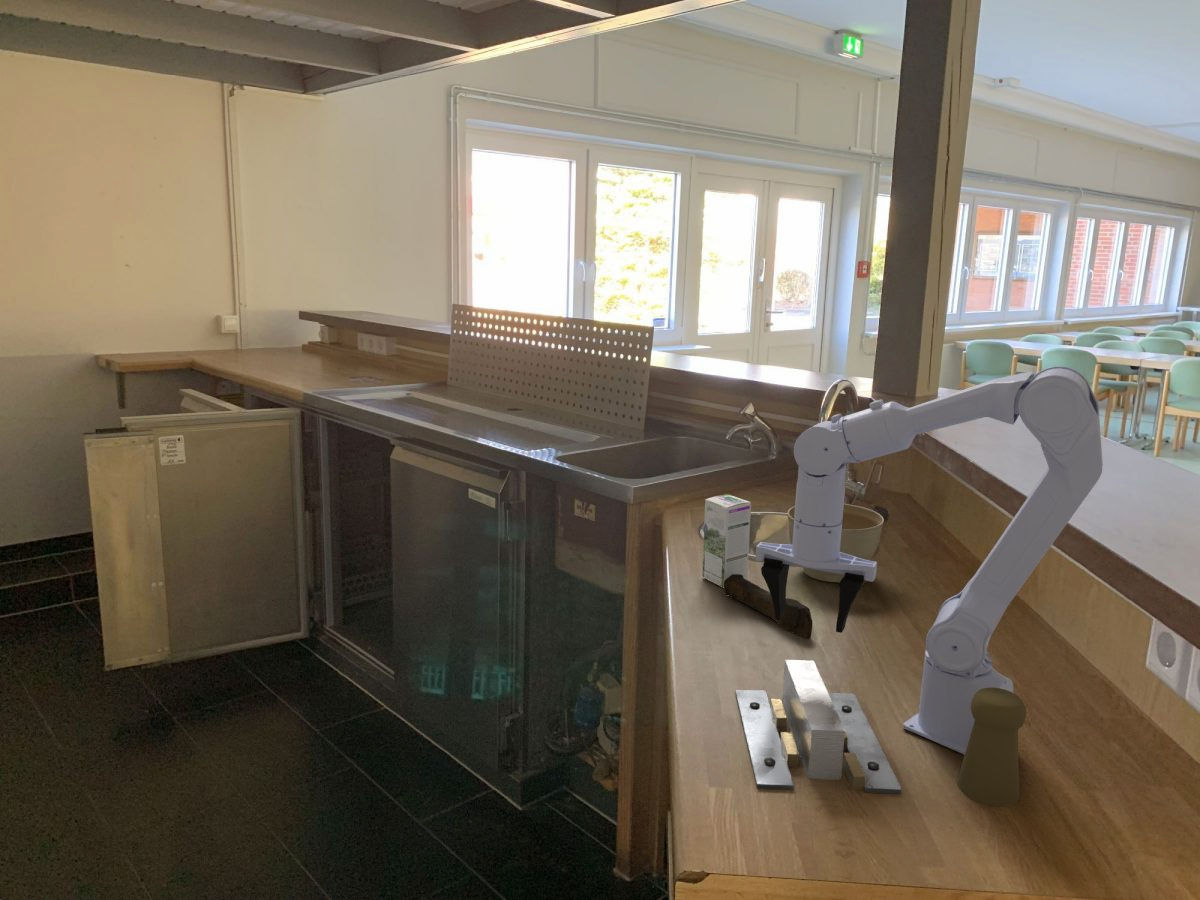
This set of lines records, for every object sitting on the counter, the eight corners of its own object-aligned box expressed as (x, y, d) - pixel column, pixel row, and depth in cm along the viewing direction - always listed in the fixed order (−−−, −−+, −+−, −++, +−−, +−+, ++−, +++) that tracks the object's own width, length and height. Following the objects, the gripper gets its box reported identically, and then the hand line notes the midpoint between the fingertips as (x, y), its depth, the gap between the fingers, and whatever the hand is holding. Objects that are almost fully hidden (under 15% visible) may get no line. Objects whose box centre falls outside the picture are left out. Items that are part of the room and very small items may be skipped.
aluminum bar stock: (810, 704, 108) (813, 660, 107) (840, 781, 92) (845, 730, 91) (781, 703, 108) (785, 659, 107) (807, 780, 92) (811, 729, 91)
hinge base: (853, 697, 109) (854, 685, 109) (901, 793, 90) (902, 780, 90) (735, 693, 110) (735, 681, 110) (757, 788, 90) (757, 774, 90)
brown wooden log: (721, 597, 141) (722, 570, 140) (741, 593, 143) (743, 567, 142) (794, 644, 125) (797, 615, 124) (816, 639, 126) (819, 610, 125)
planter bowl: (826, 552, 163) (830, 496, 160) (897, 579, 150) (903, 519, 147) (764, 568, 154) (768, 509, 151) (835, 598, 141) (840, 535, 138)
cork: (957, 798, 89) (969, 702, 87) (956, 766, 95) (967, 675, 92) (1021, 812, 87) (1035, 714, 85) (1016, 779, 93) (1029, 686, 90)
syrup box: (748, 582, 147) (753, 501, 144) (722, 589, 144) (727, 506, 140) (725, 572, 152) (730, 492, 148) (700, 578, 148) (703, 497, 145)
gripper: (884, 520, 106) (874, 623, 109) (769, 503, 112) (763, 600, 115) (874, 536, 100) (863, 645, 103) (753, 517, 106) (746, 619, 109)
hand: (809, 622), depth 109 cm, fingers open, 7 cm apart
